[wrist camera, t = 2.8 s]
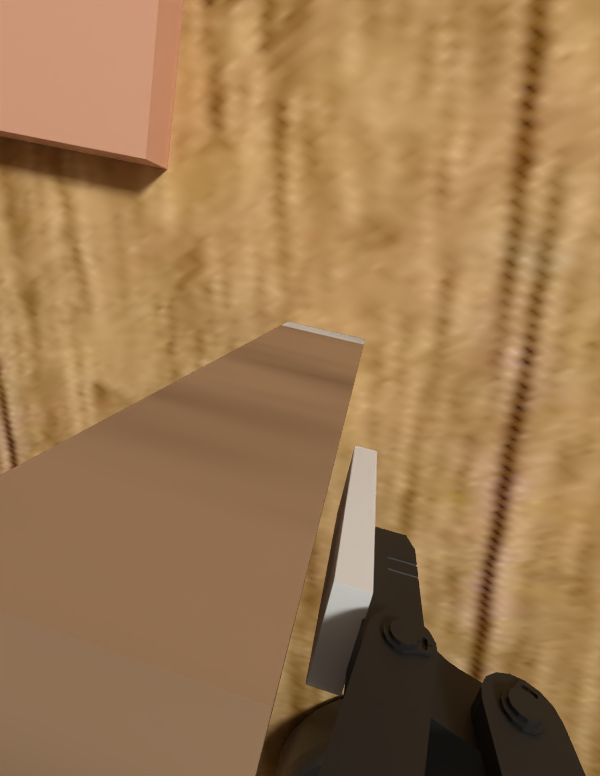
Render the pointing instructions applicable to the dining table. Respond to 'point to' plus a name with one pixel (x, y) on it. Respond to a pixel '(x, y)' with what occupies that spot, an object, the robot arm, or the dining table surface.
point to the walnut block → (168, 566)
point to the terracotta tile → (91, 75)
